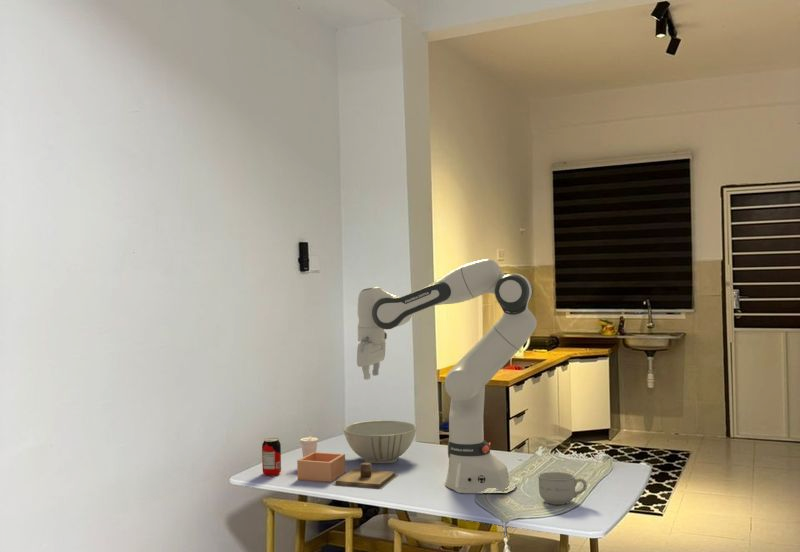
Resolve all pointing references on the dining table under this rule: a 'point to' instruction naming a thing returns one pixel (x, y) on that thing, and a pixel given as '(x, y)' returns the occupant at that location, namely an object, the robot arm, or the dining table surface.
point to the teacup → (559, 487)
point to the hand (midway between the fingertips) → (371, 377)
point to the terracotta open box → (321, 467)
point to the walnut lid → (365, 477)
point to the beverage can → (271, 456)
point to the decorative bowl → (380, 439)
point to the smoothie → (308, 444)
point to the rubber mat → (370, 487)
